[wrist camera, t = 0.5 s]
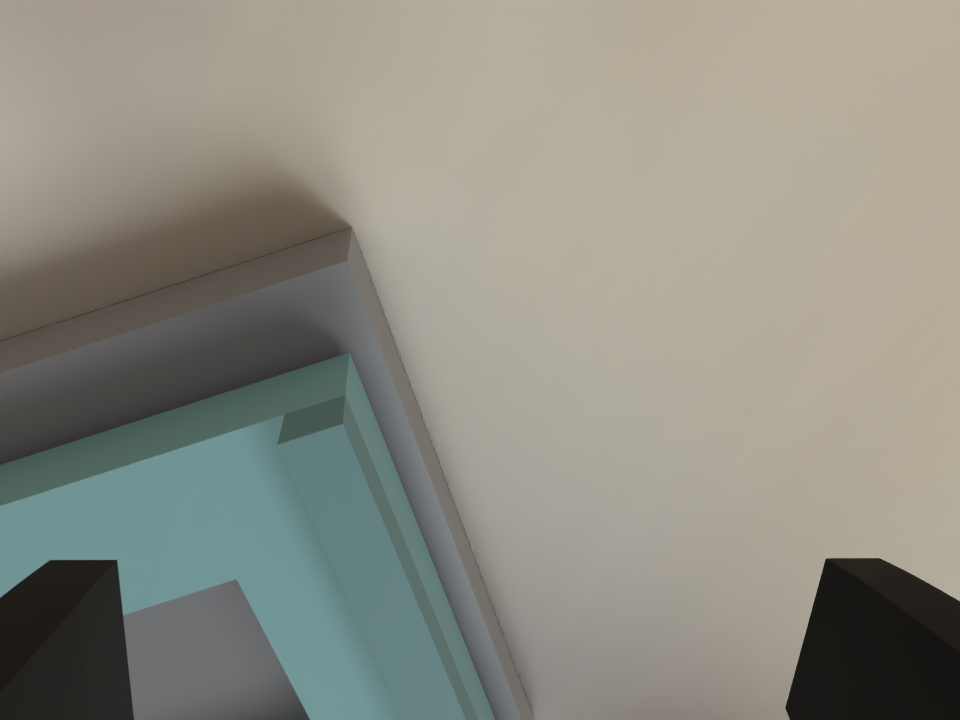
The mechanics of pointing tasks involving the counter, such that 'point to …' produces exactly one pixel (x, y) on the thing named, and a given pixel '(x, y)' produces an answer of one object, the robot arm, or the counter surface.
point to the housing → (215, 370)
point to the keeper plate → (263, 537)
